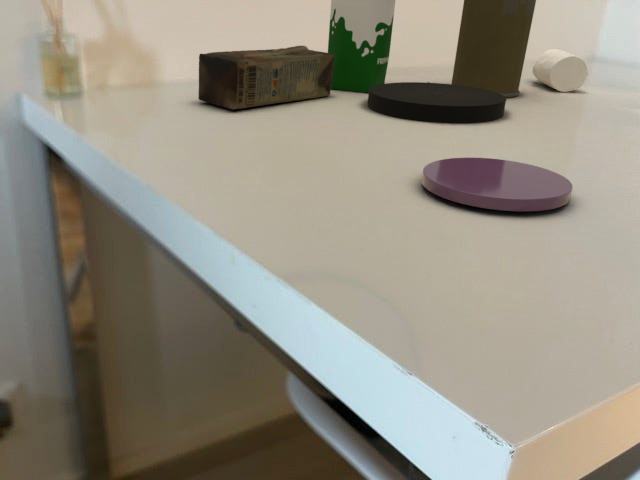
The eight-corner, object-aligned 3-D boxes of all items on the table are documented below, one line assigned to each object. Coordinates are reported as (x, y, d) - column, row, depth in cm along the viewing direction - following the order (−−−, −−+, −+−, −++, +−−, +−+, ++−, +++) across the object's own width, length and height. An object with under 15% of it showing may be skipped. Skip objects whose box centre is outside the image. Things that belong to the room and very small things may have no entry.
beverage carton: (334, 96, 95) (338, 48, 92) (234, 113, 83) (234, 58, 80) (294, 88, 100) (296, 42, 97) (194, 103, 88) (193, 51, 85)
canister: (480, 99, 96) (507, -56, 87) (435, 87, 104) (455, -55, 96) (536, 96, 100) (567, -53, 91) (488, 84, 109) (512, -53, 100)
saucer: (564, 181, 60) (568, 166, 59) (573, 225, 50) (578, 207, 49) (429, 166, 63) (431, 151, 63) (411, 203, 53) (414, 187, 52)
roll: (556, 80, 115) (564, 46, 112) (583, 92, 104) (592, 55, 102) (521, 79, 115) (528, 45, 112) (545, 91, 104) (553, 53, 102)
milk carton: (376, 94, 98) (392, -59, 89) (318, 88, 101) (328, -60, 92) (391, 86, 105) (407, -56, 96) (336, 81, 108) (347, -57, 99)
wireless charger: (394, 123, 80) (396, 106, 79) (350, 96, 96) (352, 82, 95) (530, 121, 83) (533, 105, 82) (465, 96, 98) (468, 82, 98)
